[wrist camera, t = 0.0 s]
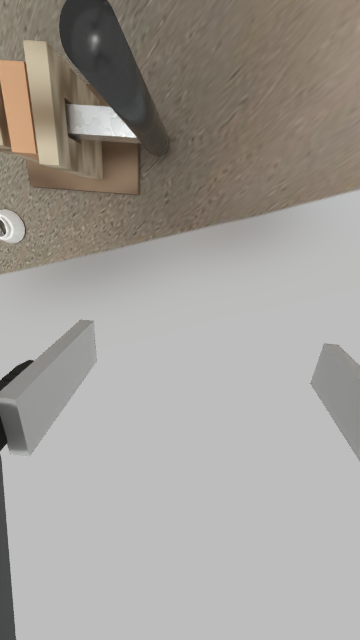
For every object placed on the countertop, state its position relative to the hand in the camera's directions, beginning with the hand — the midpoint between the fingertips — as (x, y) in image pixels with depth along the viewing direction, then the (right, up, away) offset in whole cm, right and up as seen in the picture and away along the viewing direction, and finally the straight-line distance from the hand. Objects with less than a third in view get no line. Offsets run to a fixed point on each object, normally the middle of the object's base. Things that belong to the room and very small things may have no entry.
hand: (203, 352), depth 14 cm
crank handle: (-12, +25, +17) cm, 33 cm away
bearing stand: (-14, +27, +20) cm, 36 cm away
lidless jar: (-29, +17, +26) cm, 42 cm away
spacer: (-16, +25, +16) cm, 34 cm away
